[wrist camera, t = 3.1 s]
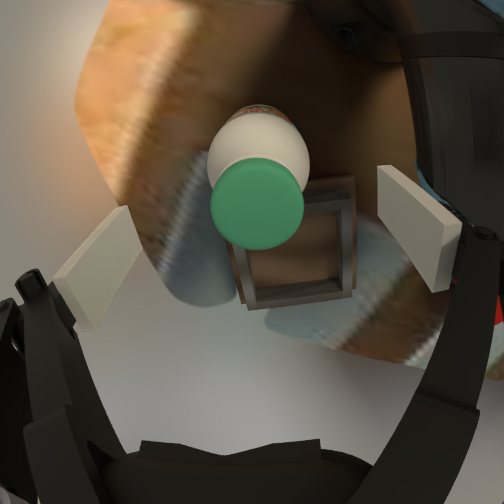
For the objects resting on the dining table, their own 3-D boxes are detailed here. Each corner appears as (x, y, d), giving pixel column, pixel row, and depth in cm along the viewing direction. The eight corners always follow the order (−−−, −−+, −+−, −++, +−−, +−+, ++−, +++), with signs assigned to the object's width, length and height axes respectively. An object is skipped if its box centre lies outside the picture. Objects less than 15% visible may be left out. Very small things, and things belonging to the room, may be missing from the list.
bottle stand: (215, 192, 35) (210, 206, 31) (352, 174, 33) (362, 185, 30) (241, 299, 43) (240, 318, 40) (353, 284, 41) (360, 302, 38)
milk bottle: (304, 158, 32) (352, 252, 15) (239, 180, 34) (216, 294, 17) (280, 94, 29) (309, 106, 12) (212, 119, 30) (149, 169, 13)
